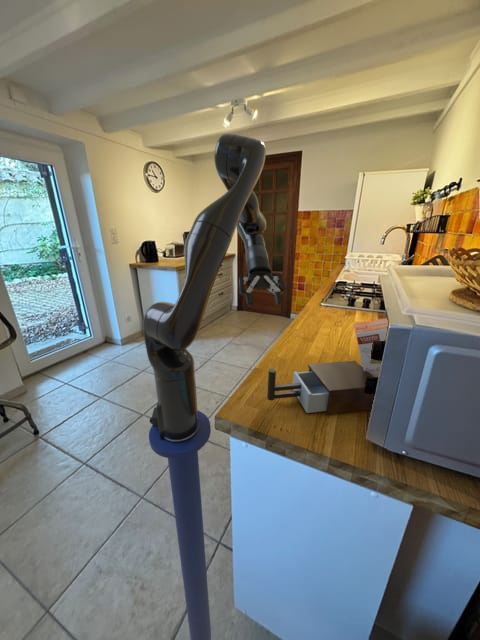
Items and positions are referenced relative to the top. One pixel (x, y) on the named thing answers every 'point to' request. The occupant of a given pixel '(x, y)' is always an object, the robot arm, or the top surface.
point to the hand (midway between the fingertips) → (264, 305)
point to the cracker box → (370, 342)
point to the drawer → (300, 390)
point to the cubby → (343, 386)
